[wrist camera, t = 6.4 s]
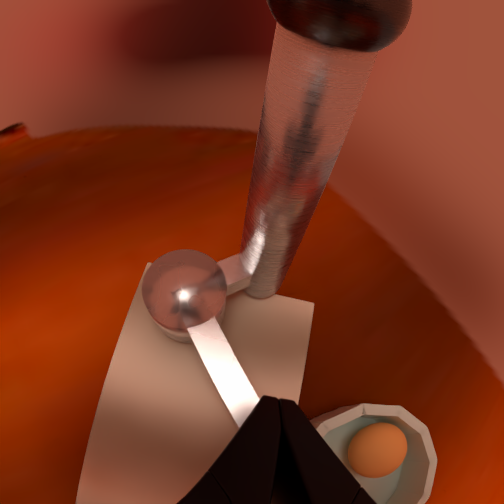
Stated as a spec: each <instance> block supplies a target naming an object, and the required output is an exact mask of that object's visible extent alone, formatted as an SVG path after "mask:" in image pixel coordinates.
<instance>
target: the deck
mask: <svg viewBox="0 0 504 504" xmlns="http://www.w3.org/2000/svg"><path fill="white" fill-rule="evenodd" d="M151 264H152V263H149V262H148V263H147V266H146V268H145V271H144V273H143V276H142V278H141V281H140V283H139V286H138V288H137V291H136V293H135V296H134V298H133V301H132V304H131V306H130V309H129V312H128V314H127V317H126V320H125V323H124V325H123V328H122V331H121V334H120V337H119V340H118V343H117V345H116V348H115V351H114V354H113V357H112V360H111V364H110V367H109V370H108V373H107V376H106V379H105V383H104V386H103V389H102V393H101V396H100V400H99V403H98V407H97V410H96V414H95V418H94V421H93V425H92V429H91V433H90V437H89V441H88V445H87V449H86V454H85V458H84V463H83V467H82V472H81V477H80V482H79V487H78V493H77V498H76V504H176V503H177V502H179V501H180V500H181V499H182V498H183V497H184V496H185V495H186V494H187V493H188V492H189V491H190V490H191V489H192V488H193V487H194V485H195V484H196V483H197V482H198V481H199V480H200V479H201V477H202V476H203V475H204V474H205V472H206V471H208V469H209V468H210V466H211V465H212V464H213V463H214V461H215V460H216V459H217V457H218V456H219V455H220V454H221V452H222V451H223V450H224V448H225V447H226V446H227V444H228V443H229V442H230V440H231V439H232V438H233V436H234V435H235V434H236V432H237V431H238V430H237V428H236V426H235V424H234V423H233V421H232V419H231V417H230V416H229V414H228V412H227V410H226V408H225V407H224V405H223V403H222V401H221V399H220V398H219V396H218V394H217V392H216V390H215V388H214V386H213V384H212V383H211V381H210V379H209V377H208V375H207V373H206V371H205V369H204V367H203V365H202V363H201V361H200V359H199V357H198V355H197V353H196V351H195V349H194V347H193V345H192V343H182V342H178V341H175V340H172V339H170V338H169V337H167V336H166V335H165V334H163V333H162V332H161V330H160V329H159V328H158V326H157V325H156V323H155V321H154V320H153V318H152V316H151V315H150V313H149V311H148V309H147V308H146V306H145V304H144V301H143V297H142V283H143V279H144V276H145V274H146V272H147V270H148V268H149V267H150V266H151ZM313 309H314V303H311V302H307V301H302V300H298V299H293V298H289V297H285V296H280V295H276V294H273V295H271V296H269V297H265V298H256V297H252V296H250V295H248V294H246V293H245V292H244V291H243V290H242V289H241V290H239V291H237V292H235V293H232V294H230V295H228V296H226V304H225V314H224V318H223V321H222V323H221V325H220V328H221V330H222V332H223V334H224V336H225V338H226V340H227V341H228V343H229V345H230V347H231V349H232V351H233V353H234V355H235V356H236V358H237V360H238V362H239V364H240V366H241V367H242V369H243V371H244V373H245V375H246V376H247V378H248V380H249V382H250V384H251V385H252V387H253V389H254V391H255V392H256V394H257V396H258V398H259V399H260V398H261V397H262V396H263V395H267V396H272V397H277V398H278V399H280V398H283V399H289V400H293V401H295V402H296V404H297V405H298V401H299V396H300V391H301V385H302V379H303V374H304V368H305V362H306V356H307V350H308V343H309V337H310V330H311V323H312V316H313Z"/></svg>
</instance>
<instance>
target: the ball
mask: <svg viewBox="0 0 504 504" xmlns="http://www.w3.org/2000/svg"><path fill="white" fill-rule="evenodd" d="M406 453H407V440H406V437H405V435H404V433H403V432H402V431H401V430H400V429H399V428H398V427H397V426H395V425H393V424H390V423H384V422H380V423H373V424H370V425H368V426H366V427H364V428H362V429H361V430H360V431H359V432H358V433H357V434H356V435H355V436H354V437H353V439H352V440H351V442H350V445H349V448H348V460H349V463H350V465H351V467H352V468H353V470H354V471H355V472H357V473H358V474H360V475H361V476H364V477H368V478H380V477H384V476H386V475H389V474H390V473H392V472H394V471H395V470H396V469H397V468H398V467H399V466H400V465H401V464H402V462H403V460H404V458H405V456H406Z"/></svg>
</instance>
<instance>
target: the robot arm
mask: <svg viewBox="0 0 504 504" xmlns="http://www.w3.org/2000/svg"><path fill="white" fill-rule="evenodd" d="M360 487H361V485H360V484H359V482H358V481H357V480H356V479H355V478H354V476H353V475H352V474H351V473H350V471H349V470H348V469H347V468H346V467H345V465H344V464H343V463H342V462H341V460H340V459H339V458H338V457H337V455H336V454H335V453H334V452H333V450H332V449H331V448H330V447H329V445H328V444H327V443H326V441H325V440H324V439H323V438H322V436H321V435H320V434H319V432H318V431H317V430H316V429H315V427H314V426H313V425H312V423H311V422H310V421H309V419H308V418H307V417H306V416H305V414H304V413H303V412H302V410H301V409H300V408H299V406H298V405H297V404H296V402H295V401H293V400H289V399H283V398H280V399H278V398H277V397H272V396H267V395H263V396H262V397H261V398H260V400H259V401H258V403H257V404H256V406H255V407H254V408H253V410H252V411H251V413H250V414H249V416H248V417H247V418H246V420H245V421H244V423H243V424H242V425H241V427H240V428H239V429H238V431H237V432H236V434H235V435H234V436H233V438H232V439H231V440H230V442H229V443H228V444H227V446H226V447H225V448H224V450H223V451H222V452H221V454H220V455H219V456H218V457H217V459H216V460H215V461H214V463H213V464H212V465H211V466H210V468H209V469H208V471H206V472H205V474H204V475H203V476H202V477H201V479H200V480H199V481H198V482H197V483H196V484H195V485H194V487H193V488H192V489H191V490H190V491H189V492H188V493H187V494H186V495H185V496H184V497H183V498H182V499H181V500H180V501H179V502H177V503H176V504H377V503H376V502H375V501H374V500H373V499H372V498H371V496H370V495H369V494H368V493H367V492H366V490H365V489H364V488H363V487H361V488H360Z"/></svg>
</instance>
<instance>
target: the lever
mask: <svg viewBox="0 0 504 504" xmlns="http://www.w3.org/2000/svg"><path fill="white" fill-rule="evenodd" d="M267 4H268V5H269V8H270V11H271V13H272V15H273V16H274V18H275V20H276V21H277V25H276V30H275V36H274V42H273V48H272V53H271V59H270V65H269V71H268V77H267V83H266V90H265V95H264V102H263V108H262V113H261V119H260V125H259V131H258V138H257V144H256V150H255V156H254V163H253V169H252V175H251V182H250V188H249V195H248V201H247V207H246V214H245V220H244V227H243V234H242V240H241V247H240V253H239V254H236V255H234V256H231V257H229V258H227V259H224V260H222V261H219V262H216V261H214V260H213V259H212V258H211V257H209V256H208V255H206V254H204V253H201V252H199V251H195V250H185V249H183V250H176V251H172V252H169V253H167V254H164V255H163V256H161V257H159V258H158V259H157V260H156V261H154V262H153V263H152V264H151V266H150V267H149V268H148V270H147V272H146V274H145V276H144V279H143V283H142V297H143V301H144V304H145V306H146V308H147V309H148V311H149V313H150V315H151V316H152V318H153V320H154V321H155V323H156V325H157V326H158V328H159V329H160V330H161V332H162V333H163V334H165V335H166V336H167V337H169V338H170V339H172V340H175V341H178V342H182V343H192V345H193V347H194V349H195V351H196V353H197V355H198V357H199V359H200V361H201V363H202V365H203V367H204V369H205V371H206V373H207V375H208V377H209V379H210V381H211V383H212V384H213V386H214V388H215V390H216V392H217V394H218V396H219V398H220V399H221V401H222V403H223V405H224V407H225V408H226V410H227V412H228V414H229V416H230V417H231V419H232V421H233V423H234V424H235V426H236V428H237V430H238V429H239V428H240V427H241V425H242V424H243V423H244V421H245V420H246V418H247V417H248V416H249V414H250V413H251V411H252V410H253V408H254V407H255V406H256V404H257V403H258V401H259V400H260V399H259V398H258V396H257V394H256V392H255V391H254V389H253V387H252V385H251V384H250V382H249V380H248V378H247V376H246V375H245V373H244V371H243V369H242V367H241V366H240V364H239V362H238V360H237V358H236V356H235V355H234V353H233V351H232V349H231V347H230V345H229V343H228V341H227V340H226V338H225V336H224V334H223V332H222V330H221V328H220V325H221V323H222V321H223V318H224V314H225V304H226V296H228V295H230V294H232V293H235V292H237V291H239V290H241V289H242V290H243V291H244V292H245V293H246V294H248V295H250V296H252V297H256V298H265V297H269V296H271V295H273V294H275V293H276V292H277V291H278V290H279V288H280V286H281V284H282V282H283V280H284V278H285V276H286V273H287V271H288V269H289V267H290V265H291V263H292V260H293V258H294V256H295V254H296V252H297V249H298V247H299V245H300V243H301V240H302V238H303V236H304V234H305V231H306V229H307V227H308V225H309V222H310V220H311V218H312V216H313V213H314V211H315V209H316V206H317V204H318V202H319V199H320V197H321V195H322V192H323V190H324V188H325V185H326V183H327V181H328V178H329V176H330V173H331V171H332V168H333V166H334V164H335V161H336V159H337V157H338V154H339V152H340V149H341V147H342V144H343V142H344V139H345V137H346V134H347V132H348V130H349V127H350V124H351V122H352V119H353V117H354V114H355V112H356V109H357V106H358V104H359V102H360V99H361V96H362V94H363V91H364V88H365V86H366V83H367V81H368V78H369V75H370V72H371V69H372V67H373V64H374V62H375V59H376V56H377V53H378V51H379V50H381V49H383V48H385V47H387V46H388V45H390V44H391V43H392V42H394V41H395V40H396V39H397V38H398V37H399V36H400V35H401V34H402V32H403V31H404V29H405V28H406V26H407V24H408V21H409V18H410V15H411V9H412V0H267Z"/></svg>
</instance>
